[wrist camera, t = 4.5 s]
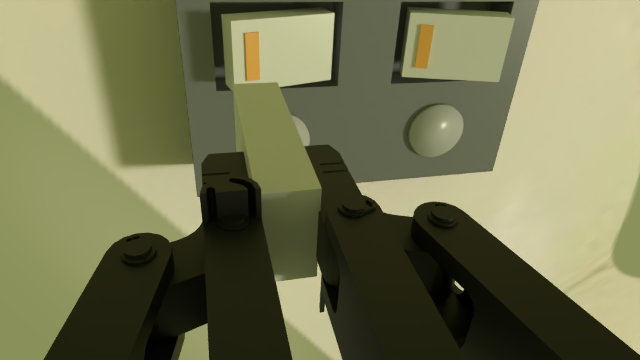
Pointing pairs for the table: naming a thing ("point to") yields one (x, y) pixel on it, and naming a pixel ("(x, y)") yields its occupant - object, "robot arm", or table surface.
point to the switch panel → (361, 90)
